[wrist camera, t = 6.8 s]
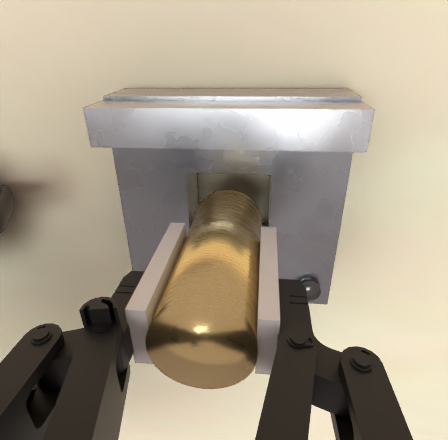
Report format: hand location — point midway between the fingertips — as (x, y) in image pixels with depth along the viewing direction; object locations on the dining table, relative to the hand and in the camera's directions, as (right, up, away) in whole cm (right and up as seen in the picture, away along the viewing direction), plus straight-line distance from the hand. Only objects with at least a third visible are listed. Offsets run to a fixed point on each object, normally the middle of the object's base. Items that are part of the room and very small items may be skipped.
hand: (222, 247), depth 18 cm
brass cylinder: (0, +1, +3) cm, 3 cm away
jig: (+1, +4, +7) cm, 8 cm away
